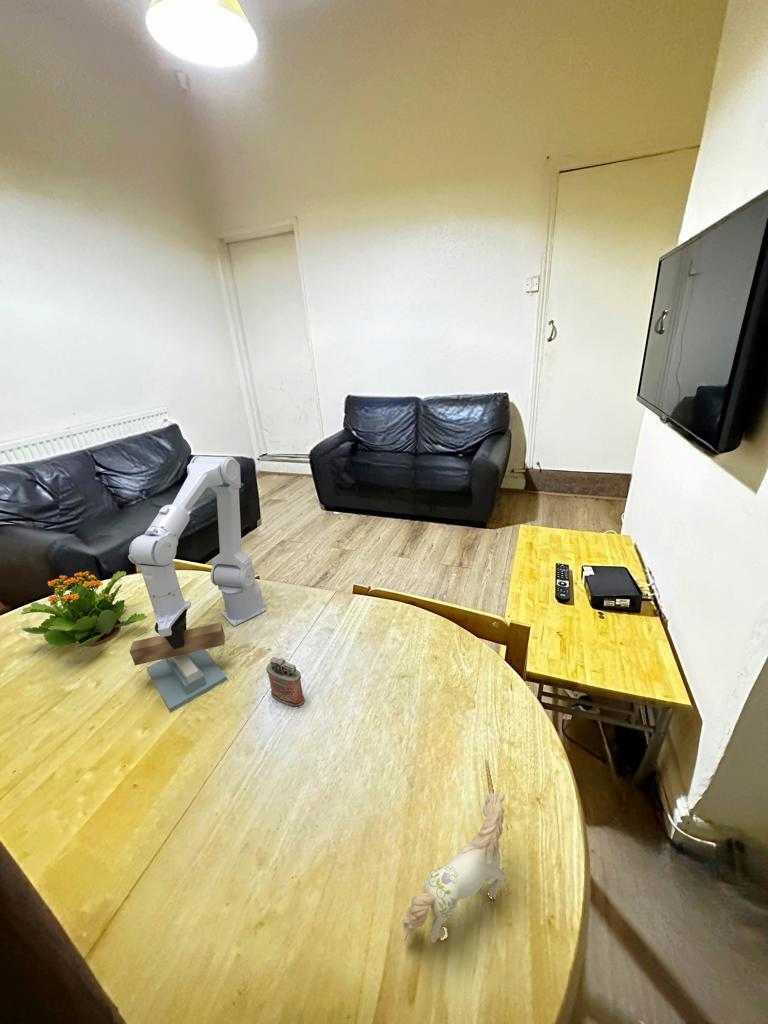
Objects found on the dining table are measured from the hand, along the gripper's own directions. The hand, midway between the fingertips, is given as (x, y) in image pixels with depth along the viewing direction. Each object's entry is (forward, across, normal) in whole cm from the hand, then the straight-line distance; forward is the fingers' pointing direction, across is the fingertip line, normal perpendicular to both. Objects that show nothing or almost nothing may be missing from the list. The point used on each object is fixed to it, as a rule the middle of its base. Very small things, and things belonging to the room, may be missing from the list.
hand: (180, 641), depth 90 cm
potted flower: (+10, +22, +24) cm, 34 cm away
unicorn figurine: (+10, -53, -40) cm, 67 cm away
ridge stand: (+9, 0, +1) cm, 9 cm away
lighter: (+10, -14, -21) cm, 27 cm away
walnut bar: (+2, 0, 0) cm, 2 cm away
